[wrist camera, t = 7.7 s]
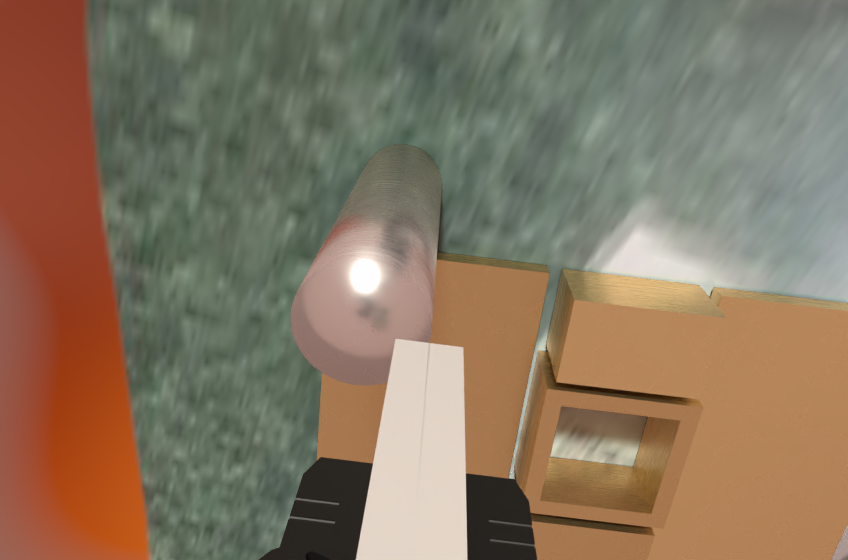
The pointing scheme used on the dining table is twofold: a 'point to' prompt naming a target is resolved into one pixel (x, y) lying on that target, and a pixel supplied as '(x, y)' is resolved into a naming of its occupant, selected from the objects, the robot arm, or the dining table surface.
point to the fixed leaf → (530, 418)
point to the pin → (373, 270)
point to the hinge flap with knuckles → (726, 405)
